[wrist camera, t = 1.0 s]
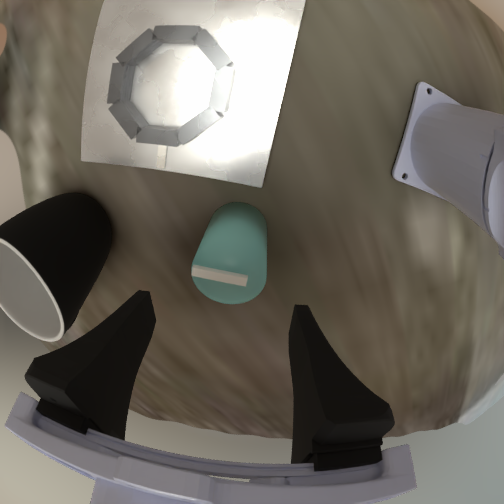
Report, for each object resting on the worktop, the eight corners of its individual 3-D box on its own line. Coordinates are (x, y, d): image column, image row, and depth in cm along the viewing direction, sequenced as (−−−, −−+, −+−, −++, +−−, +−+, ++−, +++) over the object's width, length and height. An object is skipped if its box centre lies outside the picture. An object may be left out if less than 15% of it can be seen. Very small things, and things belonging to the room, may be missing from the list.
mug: (46, 174, 19) (-33, 225, 10) (125, 185, 19) (44, 253, 11) (62, 278, 25) (13, 341, 16) (129, 299, 26) (88, 378, 17)
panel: (304, 0, 12) (310, -14, 9) (262, 182, 19) (261, 195, 17) (114, -6, 11) (97, -14, 9) (89, 157, 18) (70, 166, 16)
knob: (272, 208, 20) (274, 254, 15) (260, 258, 22) (257, 313, 17) (213, 197, 20) (193, 237, 14) (206, 247, 22) (188, 299, 17)
